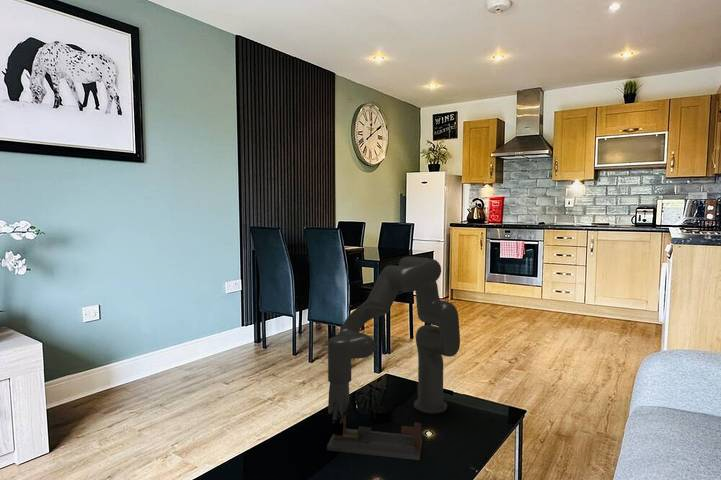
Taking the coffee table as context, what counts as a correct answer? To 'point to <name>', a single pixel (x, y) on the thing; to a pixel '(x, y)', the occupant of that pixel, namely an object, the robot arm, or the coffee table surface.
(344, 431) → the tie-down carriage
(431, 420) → the coffee table surface
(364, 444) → the rail
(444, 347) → the robot arm
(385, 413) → the tape measure
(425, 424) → the coffee table surface
